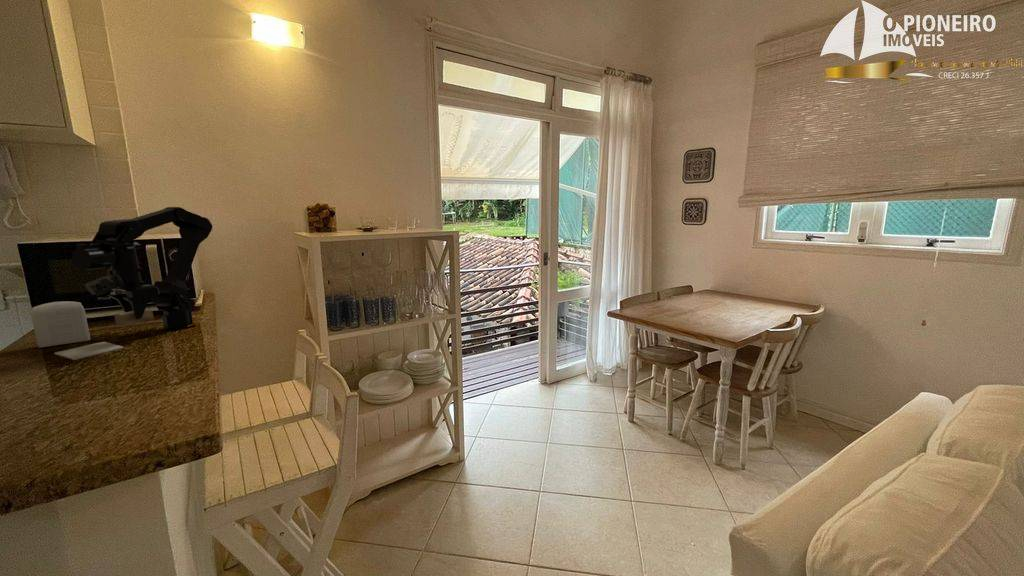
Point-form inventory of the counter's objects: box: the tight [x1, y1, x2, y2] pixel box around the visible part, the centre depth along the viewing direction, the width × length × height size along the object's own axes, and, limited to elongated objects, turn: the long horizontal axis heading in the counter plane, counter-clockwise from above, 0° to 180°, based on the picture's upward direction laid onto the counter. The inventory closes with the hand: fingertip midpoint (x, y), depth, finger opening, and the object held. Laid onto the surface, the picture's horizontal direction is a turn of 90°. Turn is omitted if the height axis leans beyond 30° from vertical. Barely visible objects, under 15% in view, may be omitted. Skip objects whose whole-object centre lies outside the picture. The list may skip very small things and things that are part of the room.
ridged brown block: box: [113, 308, 155, 327], centre depth 116 cm, size 7×4×3 cm, turn 156°
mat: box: [53, 341, 124, 361], centre depth 108 cm, size 10×11×1 cm
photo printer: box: [30, 300, 91, 349], centre depth 114 cm, size 10×4×12 cm, turn 134°
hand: (134, 317), depth 116 cm, fingers closed on ridged brown block, 4 cm apart
